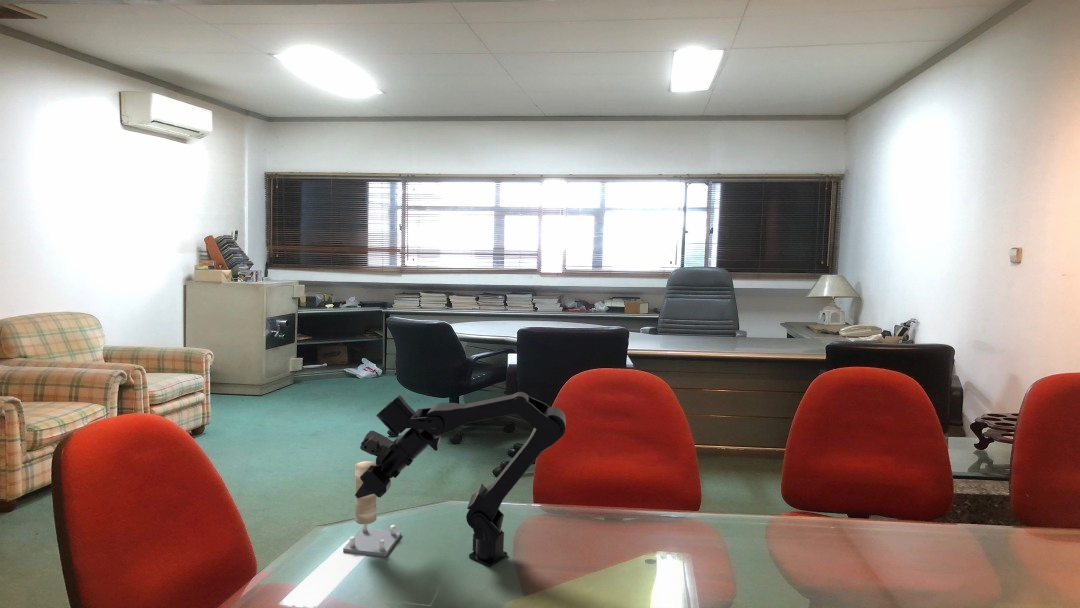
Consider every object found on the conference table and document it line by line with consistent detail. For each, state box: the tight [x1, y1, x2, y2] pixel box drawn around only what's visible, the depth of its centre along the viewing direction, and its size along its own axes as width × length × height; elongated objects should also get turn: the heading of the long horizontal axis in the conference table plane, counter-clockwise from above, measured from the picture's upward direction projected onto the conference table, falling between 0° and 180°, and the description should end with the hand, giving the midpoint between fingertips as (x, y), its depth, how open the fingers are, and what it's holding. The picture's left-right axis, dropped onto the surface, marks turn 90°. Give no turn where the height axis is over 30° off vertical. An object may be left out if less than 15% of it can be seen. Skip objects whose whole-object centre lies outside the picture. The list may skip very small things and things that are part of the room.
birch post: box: [354, 460, 378, 525], centre depth 143 cm, size 5×5×13 cm
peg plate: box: [342, 524, 402, 557], centre depth 146 cm, size 10×10×3 cm
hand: (360, 491), depth 143 cm, fingers closed on birch post, 5 cm apart
